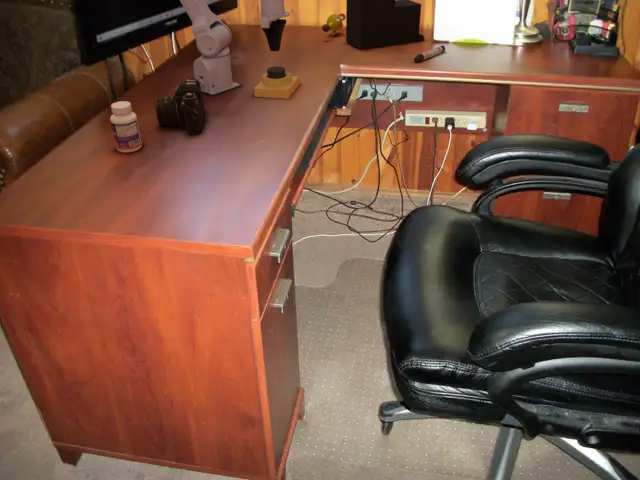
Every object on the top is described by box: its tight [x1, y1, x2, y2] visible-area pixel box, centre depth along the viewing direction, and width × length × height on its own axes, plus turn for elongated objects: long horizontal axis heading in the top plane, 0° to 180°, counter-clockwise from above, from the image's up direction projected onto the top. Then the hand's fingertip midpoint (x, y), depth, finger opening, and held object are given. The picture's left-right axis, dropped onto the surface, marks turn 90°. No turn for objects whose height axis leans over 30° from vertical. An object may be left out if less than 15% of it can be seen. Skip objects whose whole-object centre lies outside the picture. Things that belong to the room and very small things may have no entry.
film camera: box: [154, 77, 205, 135], centre depth 141 cm, size 18×12×10 cm
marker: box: [413, 45, 446, 63], centre depth 184 cm, size 15×2×2 cm, turn 138°
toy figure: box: [321, 12, 346, 37], centre depth 206 cm, size 18×6×7 cm, turn 159°
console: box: [253, 71, 300, 99], centre depth 161 cm, size 11×9×4 cm
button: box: [266, 66, 286, 79], centre depth 160 cm, size 5×5×2 cm
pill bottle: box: [110, 100, 143, 153], centre depth 130 cm, size 5×5×10 cm
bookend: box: [345, 0, 425, 50], centre depth 194 cm, size 23×11×24 cm, turn 115°
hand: (275, 50), depth 156 cm, fingers closed
